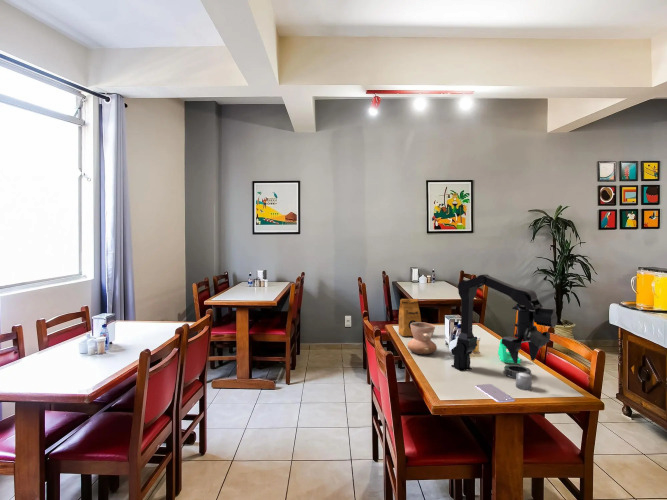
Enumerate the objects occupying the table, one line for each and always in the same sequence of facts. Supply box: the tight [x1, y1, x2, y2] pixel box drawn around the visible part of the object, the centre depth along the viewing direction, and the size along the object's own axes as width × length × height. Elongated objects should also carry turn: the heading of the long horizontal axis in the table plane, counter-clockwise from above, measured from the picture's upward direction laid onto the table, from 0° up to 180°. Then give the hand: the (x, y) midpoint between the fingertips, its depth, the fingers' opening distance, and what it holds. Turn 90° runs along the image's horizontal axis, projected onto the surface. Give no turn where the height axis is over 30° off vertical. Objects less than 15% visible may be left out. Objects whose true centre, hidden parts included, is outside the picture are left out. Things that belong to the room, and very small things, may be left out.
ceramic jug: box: [406, 321, 438, 355], centre depth 190 cm, size 18×14×14 cm
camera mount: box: [497, 338, 522, 364], centre depth 179 cm, size 12×8×10 cm, turn 167°
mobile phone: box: [474, 383, 516, 403], centre depth 141 cm, size 8×1×15 cm
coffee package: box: [398, 298, 422, 337], centre depth 222 cm, size 10×12×22 cm
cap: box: [515, 373, 533, 391], centre depth 147 cm, size 5×5×5 cm
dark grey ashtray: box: [502, 364, 533, 380], centre depth 160 cm, size 11×11×3 cm
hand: (524, 361), depth 146 cm, fingers open, 9 cm apart
